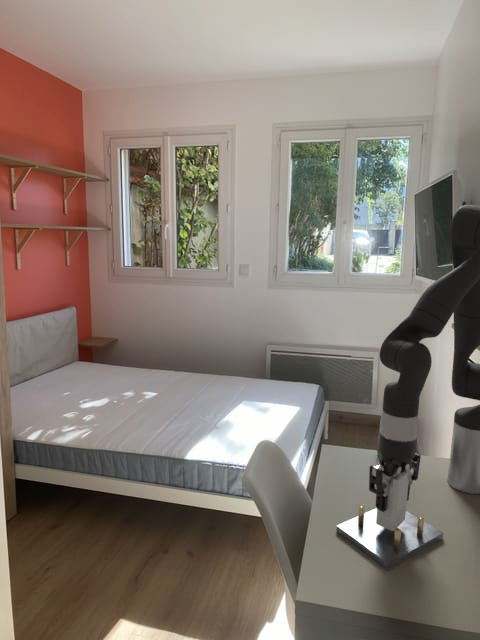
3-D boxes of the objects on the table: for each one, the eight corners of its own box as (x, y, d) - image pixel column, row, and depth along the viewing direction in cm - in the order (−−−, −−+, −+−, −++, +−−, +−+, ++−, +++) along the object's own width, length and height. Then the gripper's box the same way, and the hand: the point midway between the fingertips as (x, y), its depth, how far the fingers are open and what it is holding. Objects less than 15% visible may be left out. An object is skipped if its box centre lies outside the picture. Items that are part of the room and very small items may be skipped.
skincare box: (386, 512, 102) (390, 462, 100) (406, 520, 99) (410, 469, 97) (374, 524, 98) (378, 472, 95) (395, 533, 95) (399, 480, 93)
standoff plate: (389, 507, 110) (391, 486, 109) (442, 539, 98) (445, 516, 97) (336, 531, 100) (337, 509, 99) (387, 570, 88) (390, 545, 87)
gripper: (404, 419, 102) (399, 487, 105) (361, 433, 94) (356, 506, 97) (435, 431, 96) (427, 503, 98) (390, 446, 88) (384, 524, 91)
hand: (392, 504), depth 98 cm, fingers closed on skincare box, 6 cm apart
